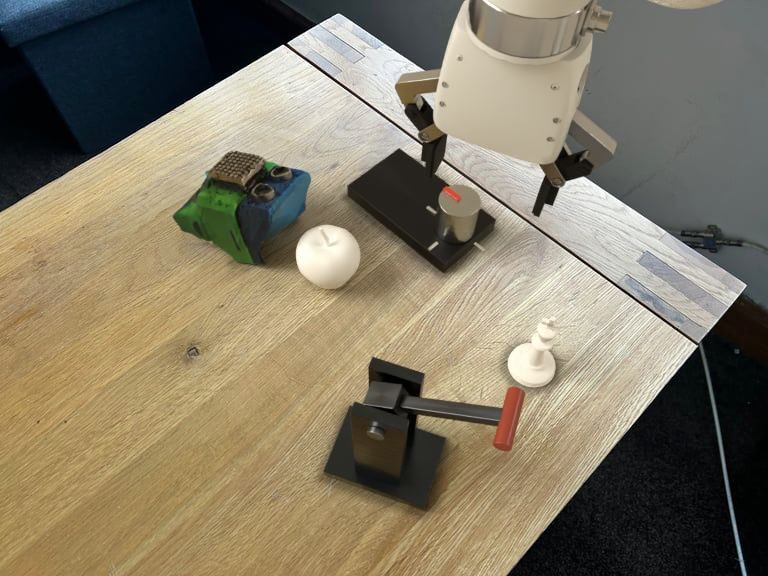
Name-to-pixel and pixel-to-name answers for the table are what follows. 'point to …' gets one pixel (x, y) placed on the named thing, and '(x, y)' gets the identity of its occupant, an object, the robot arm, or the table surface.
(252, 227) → the sculpture
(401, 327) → the table surface
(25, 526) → the table surface
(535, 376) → the chess piece
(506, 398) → the lever
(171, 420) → the table surface
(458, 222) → the knob
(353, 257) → the plain white apple
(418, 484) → the lever bracket
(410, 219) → the dial panel
